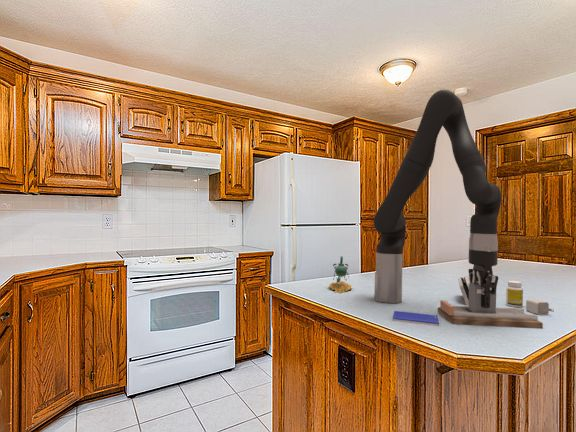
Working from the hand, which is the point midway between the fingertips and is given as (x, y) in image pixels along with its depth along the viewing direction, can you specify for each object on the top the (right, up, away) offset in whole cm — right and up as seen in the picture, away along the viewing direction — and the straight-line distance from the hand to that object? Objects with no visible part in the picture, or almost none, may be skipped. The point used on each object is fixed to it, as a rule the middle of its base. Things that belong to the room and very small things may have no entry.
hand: (481, 305), depth 101 cm
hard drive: (-20, -5, -1) cm, 21 cm away
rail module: (0, -2, 0) cm, 2 cm away
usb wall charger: (+23, -5, +7) cm, 24 cm away
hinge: (+9, -5, +23) cm, 25 cm away
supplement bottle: (+21, -5, +17) cm, 27 cm away
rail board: (+1, -4, 0) cm, 4 cm away
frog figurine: (-36, -4, +40) cm, 54 cm away
